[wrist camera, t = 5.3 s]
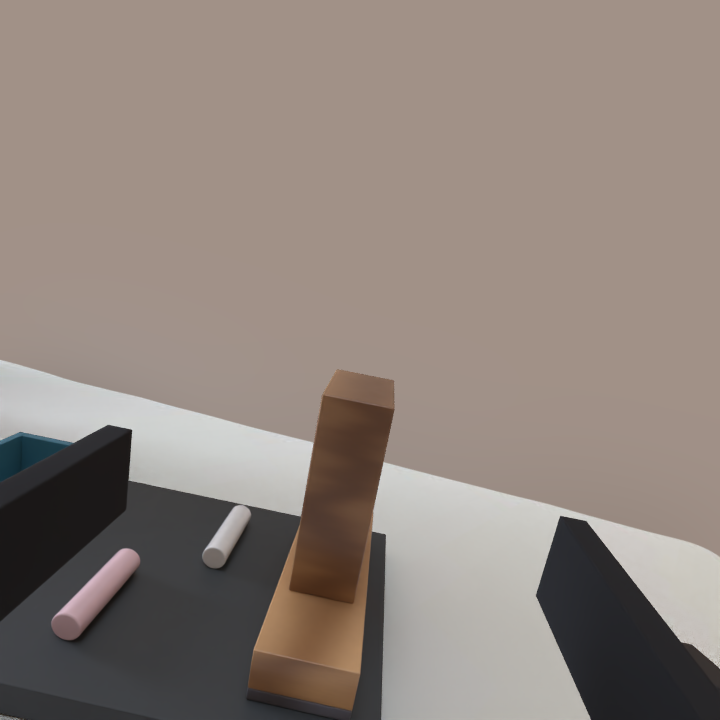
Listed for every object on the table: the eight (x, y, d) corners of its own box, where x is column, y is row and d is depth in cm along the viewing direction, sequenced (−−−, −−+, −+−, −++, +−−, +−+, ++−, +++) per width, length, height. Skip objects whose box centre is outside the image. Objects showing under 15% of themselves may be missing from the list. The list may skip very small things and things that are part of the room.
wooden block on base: (245, 699, 18) (289, 418, 15) (303, 530, 30) (334, 354, 27) (349, 723, 18) (411, 442, 15) (366, 543, 29) (403, 368, 27)
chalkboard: (-119, 686, 17) (-121, 655, 17) (116, 496, 32) (117, 478, 32) (372, 799, 17) (379, 770, 16) (381, 552, 31) (385, 534, 31)
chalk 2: (199, 565, 25) (204, 544, 24) (229, 519, 29) (233, 501, 29) (222, 572, 25) (228, 551, 24) (249, 526, 29) (253, 508, 29)
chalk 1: (52, 640, 19) (47, 612, 19) (117, 569, 23) (115, 546, 23) (82, 642, 19) (78, 614, 19) (142, 571, 23) (139, 548, 23)
